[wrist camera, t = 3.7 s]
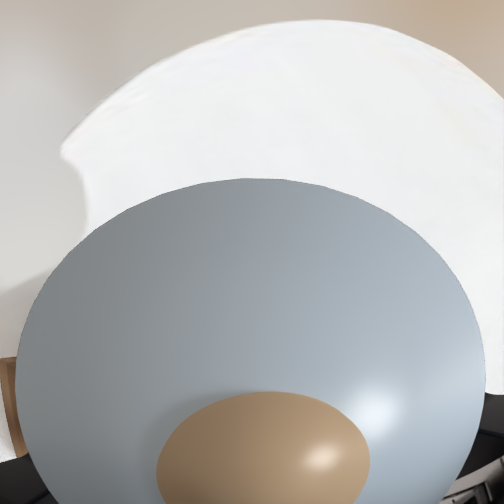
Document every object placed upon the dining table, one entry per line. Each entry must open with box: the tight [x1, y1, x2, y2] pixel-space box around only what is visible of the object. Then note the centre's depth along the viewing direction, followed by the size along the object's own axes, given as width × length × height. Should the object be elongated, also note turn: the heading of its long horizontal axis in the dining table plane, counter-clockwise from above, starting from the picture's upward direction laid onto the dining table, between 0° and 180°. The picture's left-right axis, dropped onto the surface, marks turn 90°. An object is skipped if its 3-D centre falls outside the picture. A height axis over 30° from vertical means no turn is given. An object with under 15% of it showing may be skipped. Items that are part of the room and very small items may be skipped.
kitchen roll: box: [15, 178, 486, 504], centre depth 8 cm, size 7×7×13 cm
